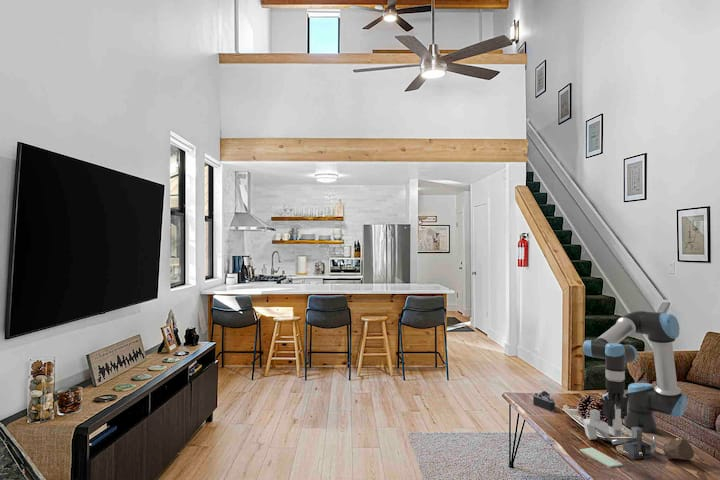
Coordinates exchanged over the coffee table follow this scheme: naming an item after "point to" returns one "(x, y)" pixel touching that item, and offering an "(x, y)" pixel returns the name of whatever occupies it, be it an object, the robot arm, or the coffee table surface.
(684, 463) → the coffee table surface
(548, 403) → the camera
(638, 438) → the vise
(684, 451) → the rock
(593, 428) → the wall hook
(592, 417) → the white slotted block
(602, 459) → the pad
